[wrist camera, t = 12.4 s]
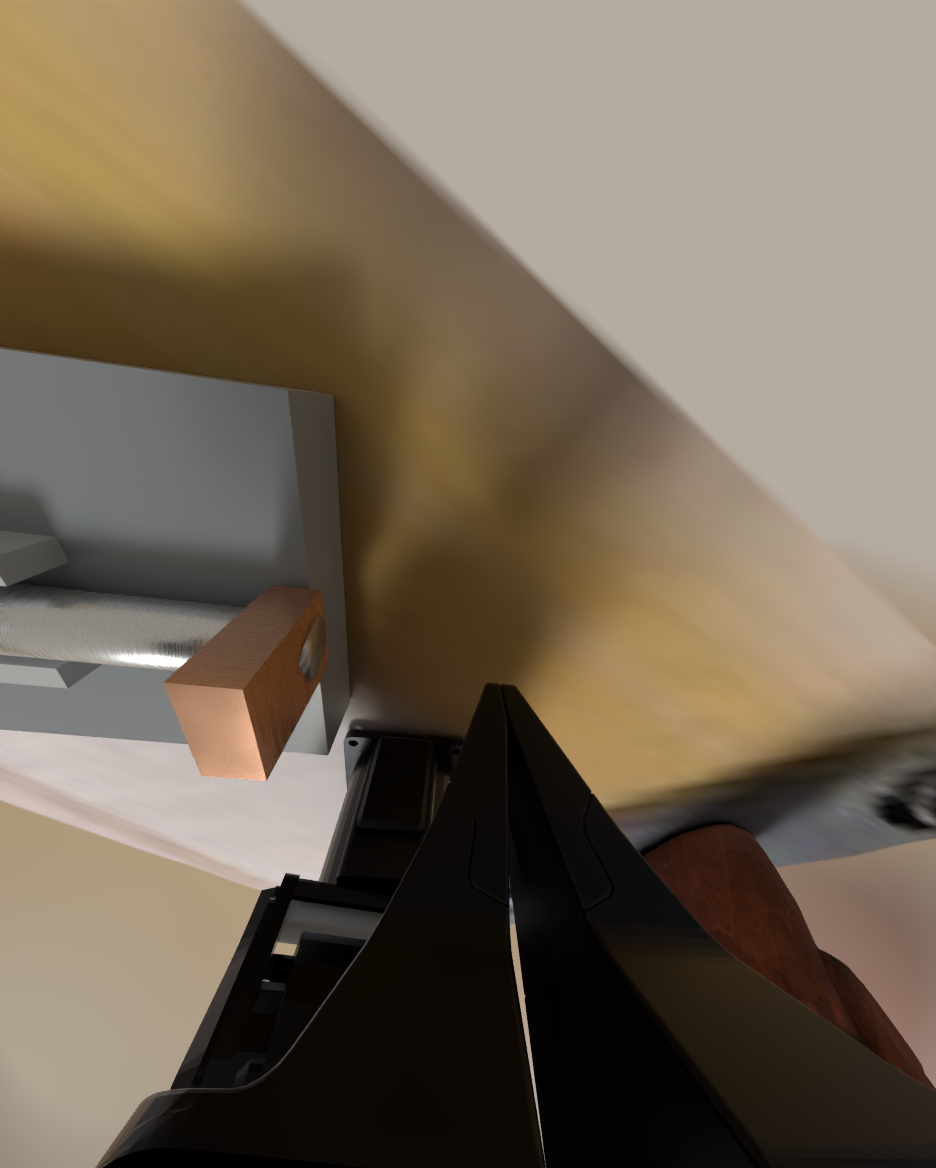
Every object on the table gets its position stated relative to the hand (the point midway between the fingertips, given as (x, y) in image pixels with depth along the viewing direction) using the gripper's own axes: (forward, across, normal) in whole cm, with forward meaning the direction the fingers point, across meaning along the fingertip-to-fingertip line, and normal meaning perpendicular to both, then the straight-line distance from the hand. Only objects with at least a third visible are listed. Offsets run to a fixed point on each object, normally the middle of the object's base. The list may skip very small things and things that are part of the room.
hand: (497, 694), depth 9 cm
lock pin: (+2, +12, 0) cm, 12 cm away
